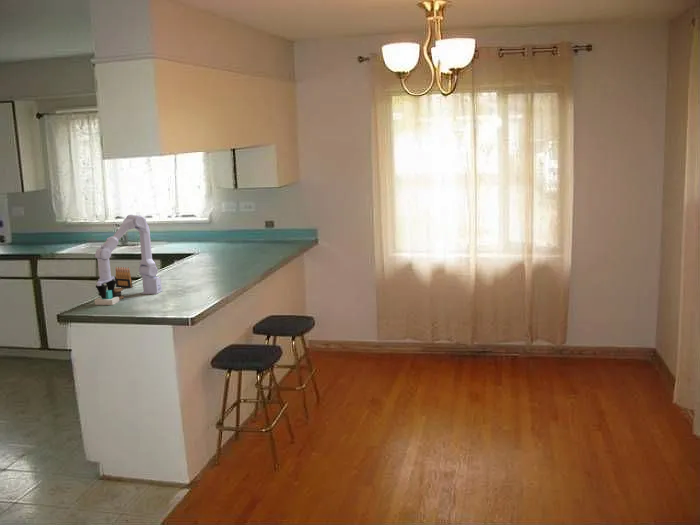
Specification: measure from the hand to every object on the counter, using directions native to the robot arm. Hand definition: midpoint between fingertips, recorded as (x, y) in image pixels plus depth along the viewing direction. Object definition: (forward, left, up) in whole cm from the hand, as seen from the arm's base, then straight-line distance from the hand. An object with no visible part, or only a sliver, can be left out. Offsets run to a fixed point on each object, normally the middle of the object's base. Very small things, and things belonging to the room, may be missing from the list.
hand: (107, 296), depth 363 cm
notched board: (0, +1, -3) cm, 4 cm away
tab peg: (0, 0, -3) cm, 3 cm away
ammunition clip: (+9, -34, -4) cm, 35 cm away
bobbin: (0, -9, -3) cm, 10 cm away
